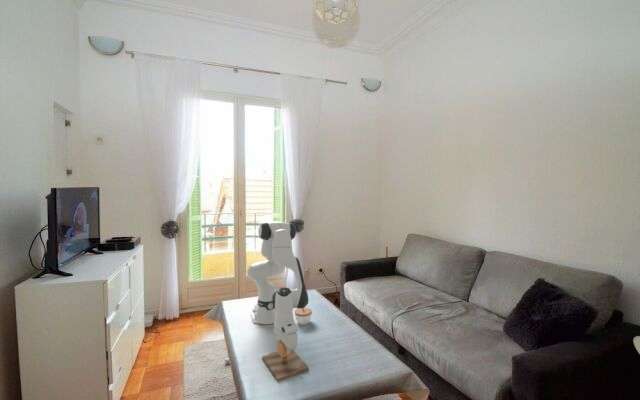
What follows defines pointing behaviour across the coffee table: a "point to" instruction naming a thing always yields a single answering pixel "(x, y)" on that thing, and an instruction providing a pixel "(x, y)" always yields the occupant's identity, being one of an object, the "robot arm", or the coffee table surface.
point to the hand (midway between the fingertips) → (284, 349)
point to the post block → (284, 365)
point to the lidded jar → (303, 315)
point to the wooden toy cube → (283, 349)
